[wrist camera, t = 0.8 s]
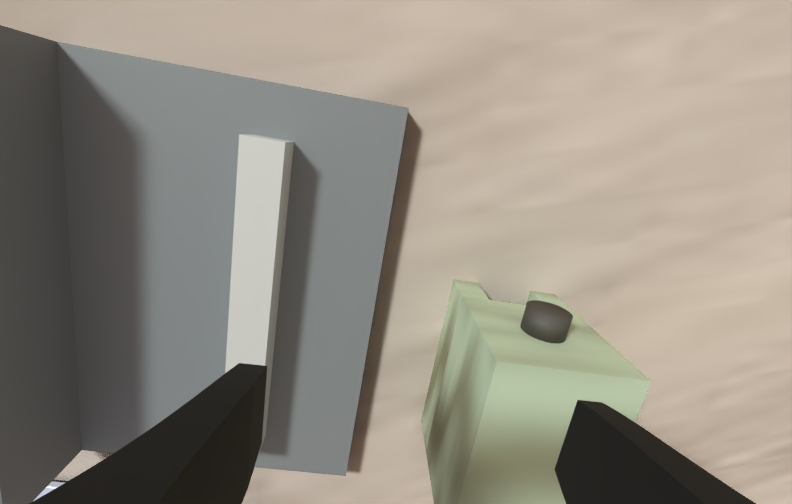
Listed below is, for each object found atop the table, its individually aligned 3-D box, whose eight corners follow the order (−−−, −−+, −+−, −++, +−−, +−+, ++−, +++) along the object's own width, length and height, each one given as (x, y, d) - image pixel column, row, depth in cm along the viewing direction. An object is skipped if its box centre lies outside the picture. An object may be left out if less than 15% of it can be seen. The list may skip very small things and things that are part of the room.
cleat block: (512, 430, 21) (575, 569, 14) (421, 420, 21) (442, 558, 14) (559, 276, 19) (662, 356, 12) (457, 261, 18) (504, 334, 11)
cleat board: (347, 460, 21) (338, 556, 16) (70, 432, 20) (-28, 527, 15) (406, 109, 16) (419, 98, 11) (43, 41, 15) (-116, -4, 10)
